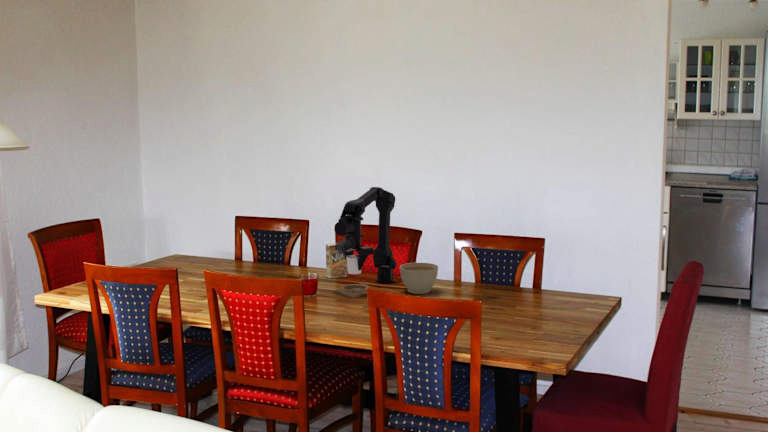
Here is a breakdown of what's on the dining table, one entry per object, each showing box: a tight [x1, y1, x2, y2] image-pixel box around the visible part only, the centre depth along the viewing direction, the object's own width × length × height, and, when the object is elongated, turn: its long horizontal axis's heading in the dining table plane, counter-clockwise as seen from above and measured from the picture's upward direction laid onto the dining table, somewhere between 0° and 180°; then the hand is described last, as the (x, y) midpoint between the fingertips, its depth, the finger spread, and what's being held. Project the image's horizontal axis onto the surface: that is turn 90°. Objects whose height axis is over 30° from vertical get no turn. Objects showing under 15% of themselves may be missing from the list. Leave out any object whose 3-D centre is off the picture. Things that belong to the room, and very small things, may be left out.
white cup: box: [346, 254, 362, 275], centre depth 340 cm, size 7×7×7 cm
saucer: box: [334, 283, 370, 299], centre depth 342 cm, size 12×12×2 cm
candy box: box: [325, 242, 348, 279], centre depth 371 cm, size 9×4×15 cm, turn 118°
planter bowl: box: [399, 262, 439, 295], centre depth 343 cm, size 16×16×11 cm
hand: (354, 269), depth 341 cm, fingers closed on white cup, 6 cm apart
